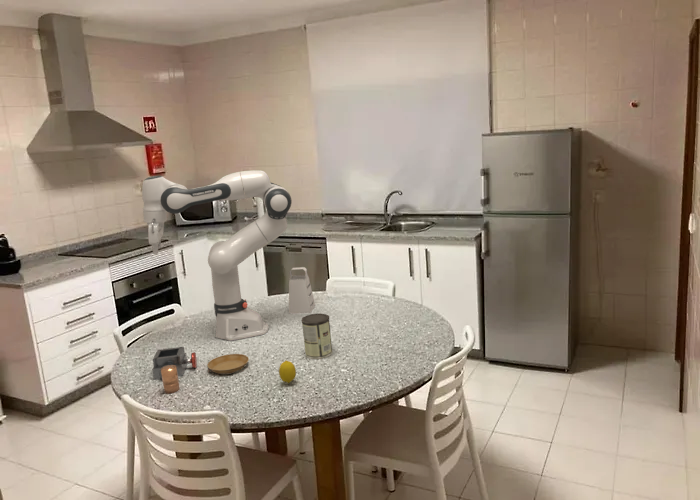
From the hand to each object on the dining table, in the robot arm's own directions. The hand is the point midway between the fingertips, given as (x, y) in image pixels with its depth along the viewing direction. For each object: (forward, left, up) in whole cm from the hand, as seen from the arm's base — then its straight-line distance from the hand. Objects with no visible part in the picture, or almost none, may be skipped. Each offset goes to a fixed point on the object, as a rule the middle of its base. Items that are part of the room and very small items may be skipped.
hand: (156, 250), depth 228 cm
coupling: (-8, +49, -39) cm, 63 cm away
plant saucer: (-26, +36, -40) cm, 59 cm away
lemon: (-47, +56, -39) cm, 83 cm away
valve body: (-7, +32, -39) cm, 51 cm away
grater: (-56, -22, -40) cm, 72 cm away
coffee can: (-59, +34, -39) cm, 79 cm away
